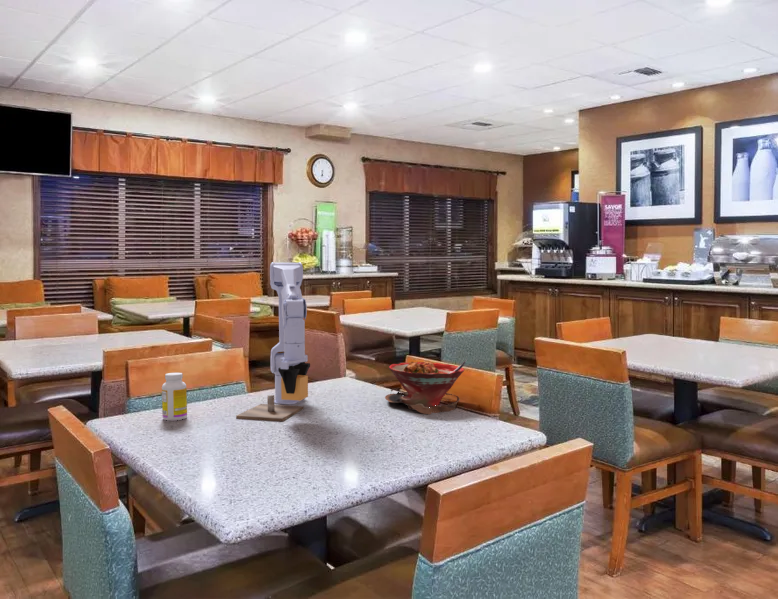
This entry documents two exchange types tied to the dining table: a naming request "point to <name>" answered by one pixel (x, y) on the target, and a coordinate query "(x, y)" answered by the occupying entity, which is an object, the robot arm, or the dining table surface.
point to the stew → (425, 385)
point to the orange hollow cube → (296, 389)
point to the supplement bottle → (174, 397)
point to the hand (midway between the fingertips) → (294, 391)
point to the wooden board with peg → (270, 411)
